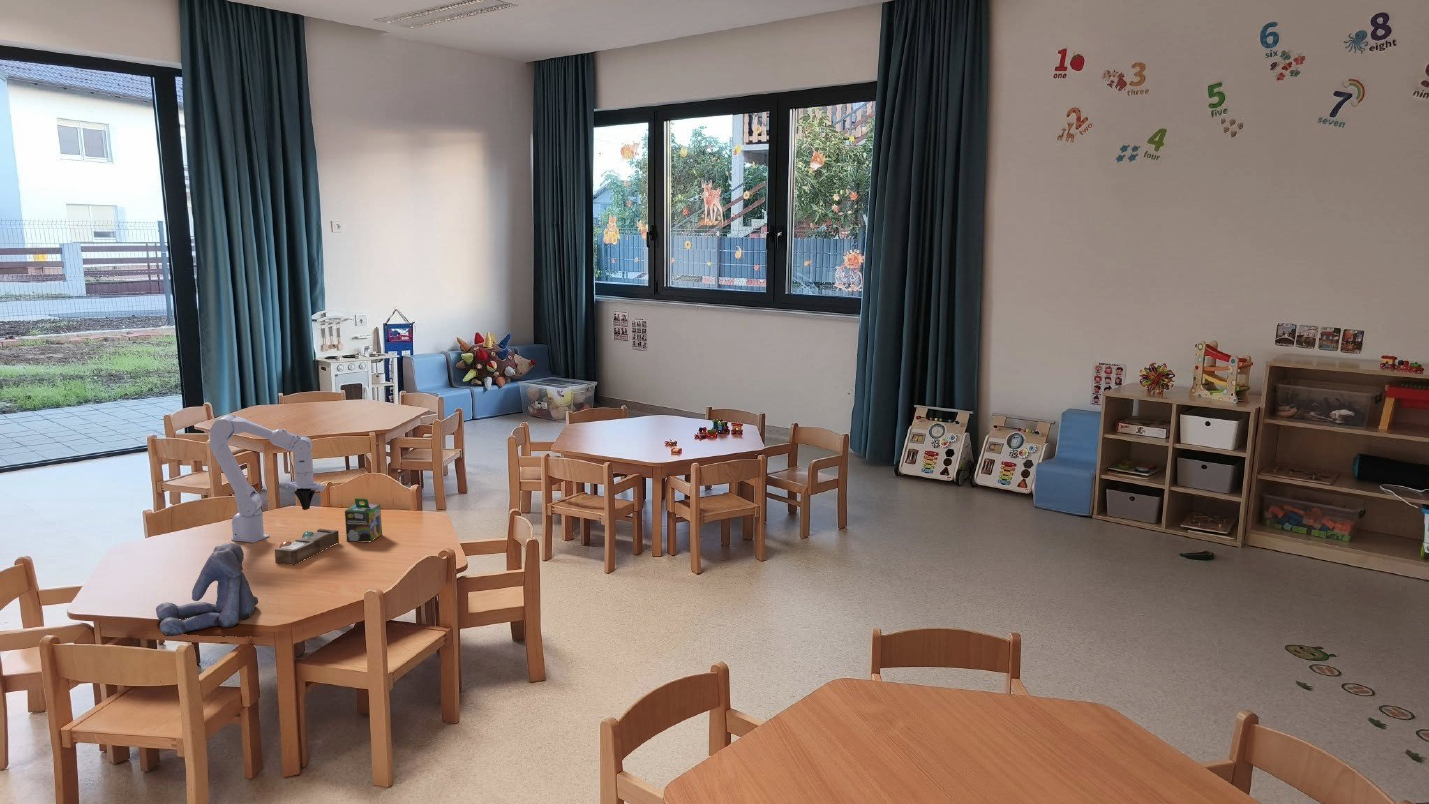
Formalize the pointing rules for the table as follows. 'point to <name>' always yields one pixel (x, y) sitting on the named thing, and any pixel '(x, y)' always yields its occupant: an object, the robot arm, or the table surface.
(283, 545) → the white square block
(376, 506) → the chalk box
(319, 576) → the table surface
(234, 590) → the elephant
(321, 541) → the grey brown divided tray
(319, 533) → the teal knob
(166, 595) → the table surface
